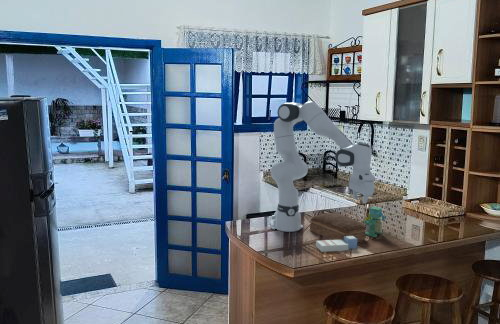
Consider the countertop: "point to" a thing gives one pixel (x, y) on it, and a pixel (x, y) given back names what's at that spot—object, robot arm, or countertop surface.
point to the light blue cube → (351, 242)
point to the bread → (337, 226)
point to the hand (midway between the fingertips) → (359, 201)
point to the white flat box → (331, 245)
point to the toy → (374, 222)
